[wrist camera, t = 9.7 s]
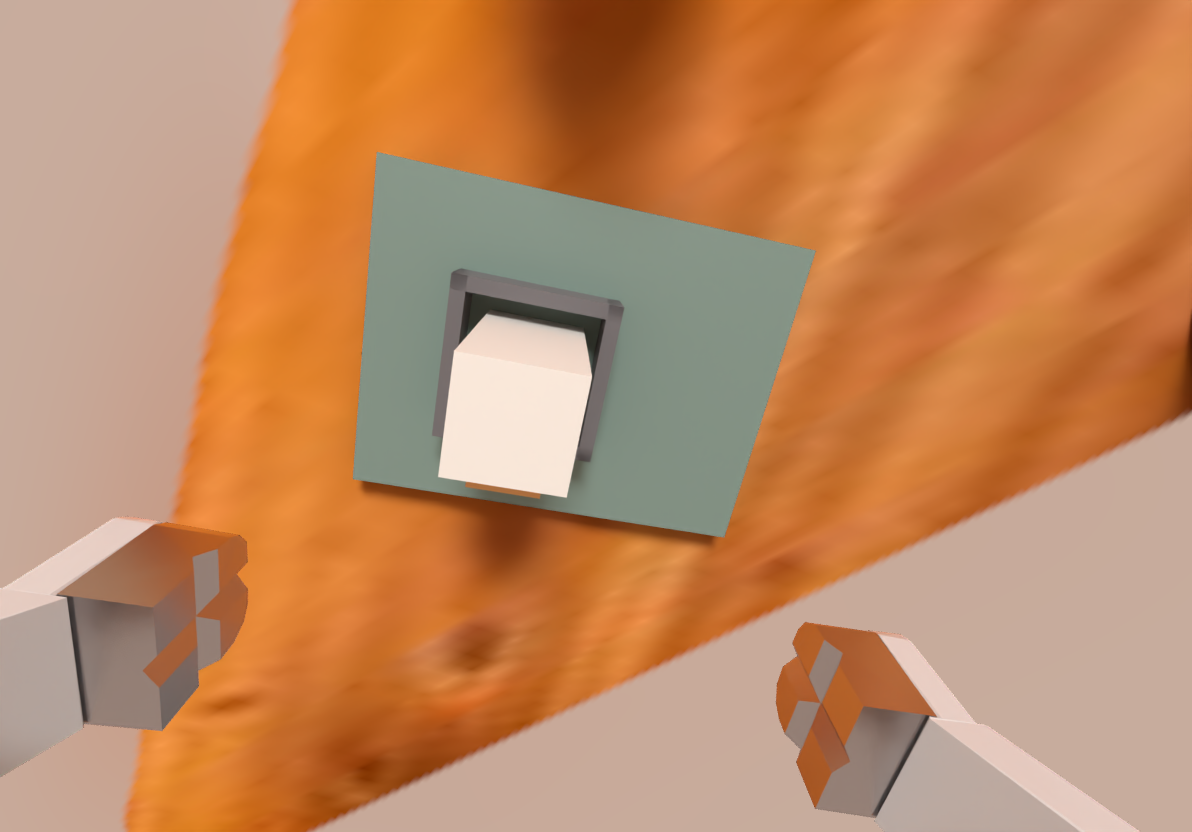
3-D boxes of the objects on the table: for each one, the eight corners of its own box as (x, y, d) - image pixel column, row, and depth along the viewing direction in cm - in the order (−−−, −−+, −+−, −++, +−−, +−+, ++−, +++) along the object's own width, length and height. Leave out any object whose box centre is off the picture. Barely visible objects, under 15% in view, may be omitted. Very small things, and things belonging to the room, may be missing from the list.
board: (804, 249, 24) (838, 253, 21) (717, 525, 29) (735, 560, 26) (386, 155, 22) (358, 144, 19) (361, 468, 27) (335, 499, 24)
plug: (583, 328, 24) (591, 376, 16) (564, 423, 25) (563, 510, 18) (490, 309, 23) (454, 350, 16) (475, 408, 25) (436, 490, 17)
